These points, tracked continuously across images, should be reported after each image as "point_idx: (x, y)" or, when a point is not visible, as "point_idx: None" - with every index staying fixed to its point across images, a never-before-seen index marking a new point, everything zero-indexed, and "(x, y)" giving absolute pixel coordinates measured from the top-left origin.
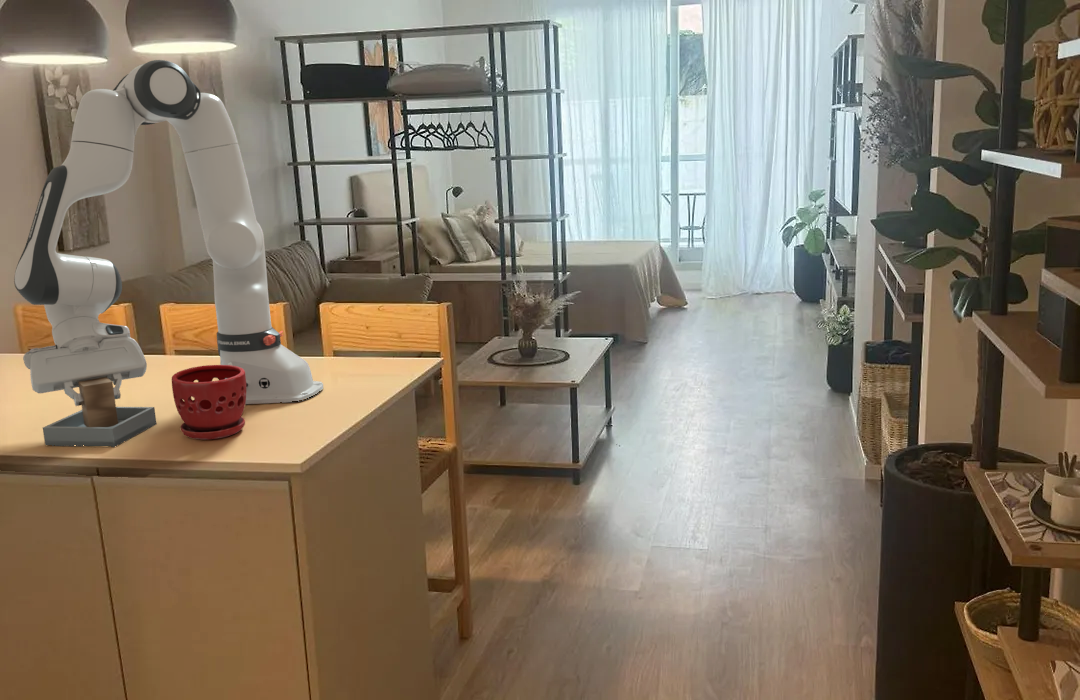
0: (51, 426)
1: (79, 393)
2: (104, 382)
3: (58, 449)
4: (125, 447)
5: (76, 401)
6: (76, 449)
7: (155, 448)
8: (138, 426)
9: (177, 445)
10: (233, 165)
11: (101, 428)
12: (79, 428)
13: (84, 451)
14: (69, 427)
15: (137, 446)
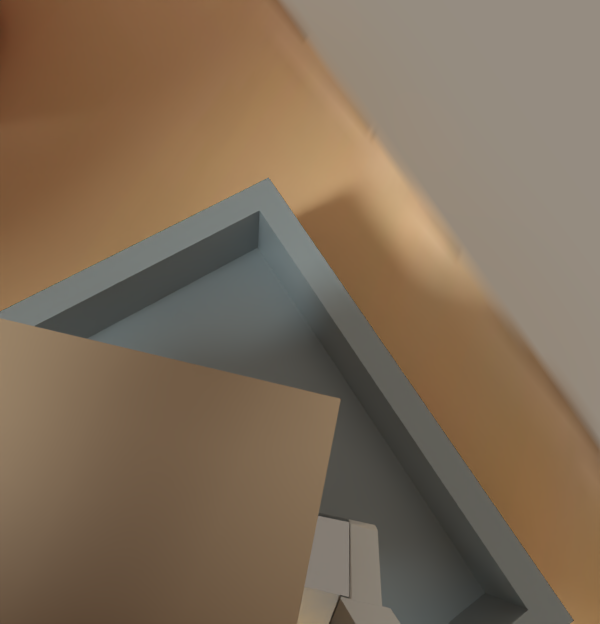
0: (516, 592)
1: (320, 586)
2: (55, 366)
3: (473, 449)
4: (234, 186)
5: (370, 526)
6: (406, 363)
7: (161, 66)
8: None
9: (80, 25)
10: None
11: (306, 234)
12: (394, 362)
13: (391, 294)
14: (434, 438)
15: (192, 154)
